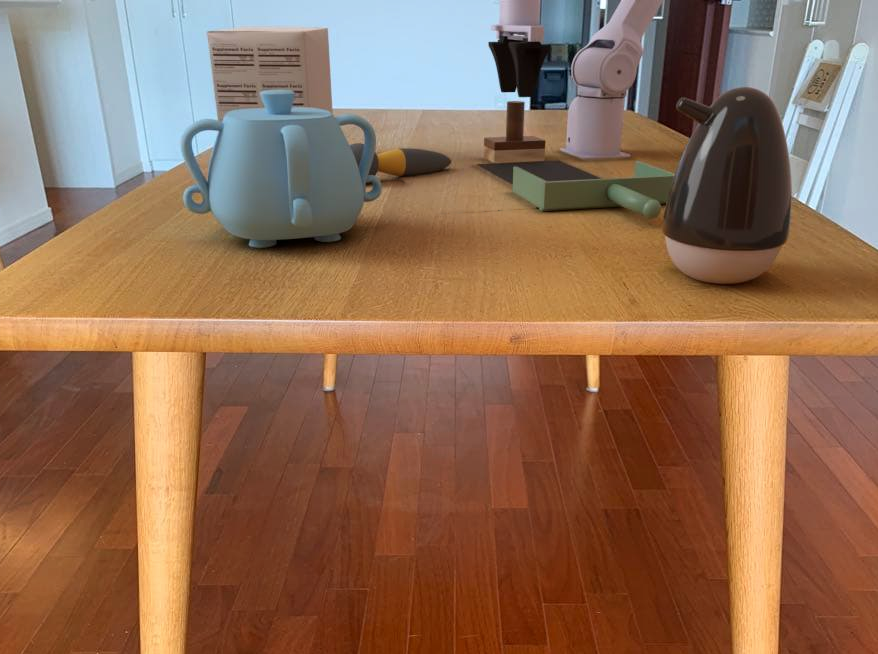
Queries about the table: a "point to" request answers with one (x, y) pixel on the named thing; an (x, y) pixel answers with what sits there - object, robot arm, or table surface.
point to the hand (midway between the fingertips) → (516, 94)
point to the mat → (539, 170)
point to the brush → (514, 140)
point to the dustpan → (598, 191)
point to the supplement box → (270, 66)
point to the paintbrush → (403, 161)
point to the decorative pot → (282, 172)
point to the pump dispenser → (730, 190)
